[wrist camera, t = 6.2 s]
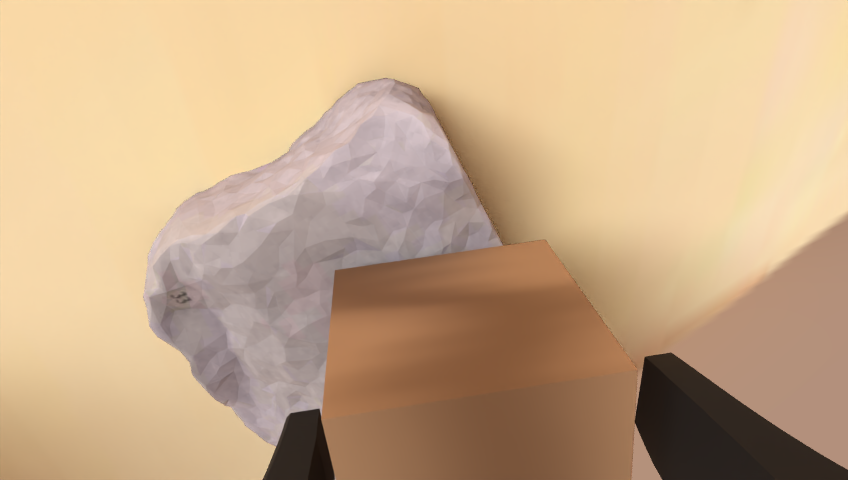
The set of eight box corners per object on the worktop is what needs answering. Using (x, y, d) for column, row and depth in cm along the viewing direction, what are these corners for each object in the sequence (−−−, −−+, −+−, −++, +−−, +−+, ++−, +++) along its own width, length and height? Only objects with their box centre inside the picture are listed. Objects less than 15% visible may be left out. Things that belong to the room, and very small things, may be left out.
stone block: (347, 419, 23) (582, 341, 20) (324, 533, 19) (612, 457, 16) (143, 189, 18) (423, 37, 15) (52, 283, 14) (410, 101, 11)
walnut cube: (367, 433, 15) (369, 621, 11) (334, 270, 13) (321, 419, 9) (548, 404, 16) (625, 576, 11) (545, 239, 14) (637, 369, 9)
